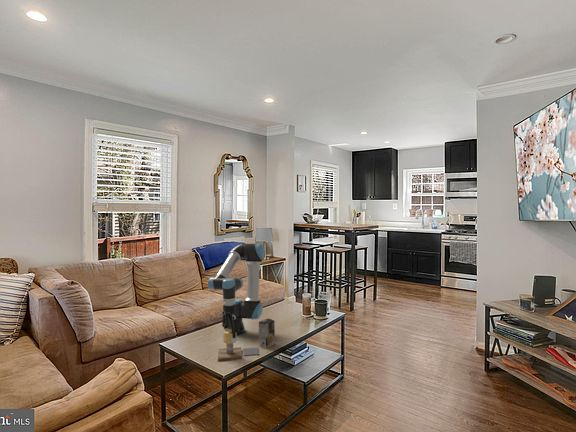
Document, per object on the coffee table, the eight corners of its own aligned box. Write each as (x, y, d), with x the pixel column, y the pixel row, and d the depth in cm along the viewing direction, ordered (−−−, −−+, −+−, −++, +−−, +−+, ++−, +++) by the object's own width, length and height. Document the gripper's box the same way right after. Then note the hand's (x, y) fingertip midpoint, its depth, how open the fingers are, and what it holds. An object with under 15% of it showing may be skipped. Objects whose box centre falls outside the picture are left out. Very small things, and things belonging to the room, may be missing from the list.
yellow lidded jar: (232, 337, 214) (232, 327, 214) (238, 341, 208) (238, 330, 208) (221, 340, 209) (221, 330, 209) (227, 344, 203) (227, 333, 203)
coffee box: (268, 341, 229) (267, 318, 228) (275, 344, 225) (274, 320, 224) (258, 346, 222) (258, 321, 221) (265, 348, 217) (265, 323, 217)
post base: (218, 351, 214) (218, 336, 214) (241, 349, 216) (240, 334, 216) (217, 361, 200) (217, 345, 200) (241, 359, 203) (241, 343, 202)
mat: (243, 349, 217) (243, 348, 217) (257, 348, 218) (257, 347, 218) (244, 356, 207) (244, 355, 207) (258, 354, 208) (258, 353, 208)
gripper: (215, 301, 213) (216, 337, 214) (232, 309, 197) (233, 347, 198) (226, 299, 218) (227, 334, 219) (243, 306, 202) (244, 344, 203)
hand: (230, 340), depth 209 cm, fingers closed on yellow lidded jar, 7 cm apart
